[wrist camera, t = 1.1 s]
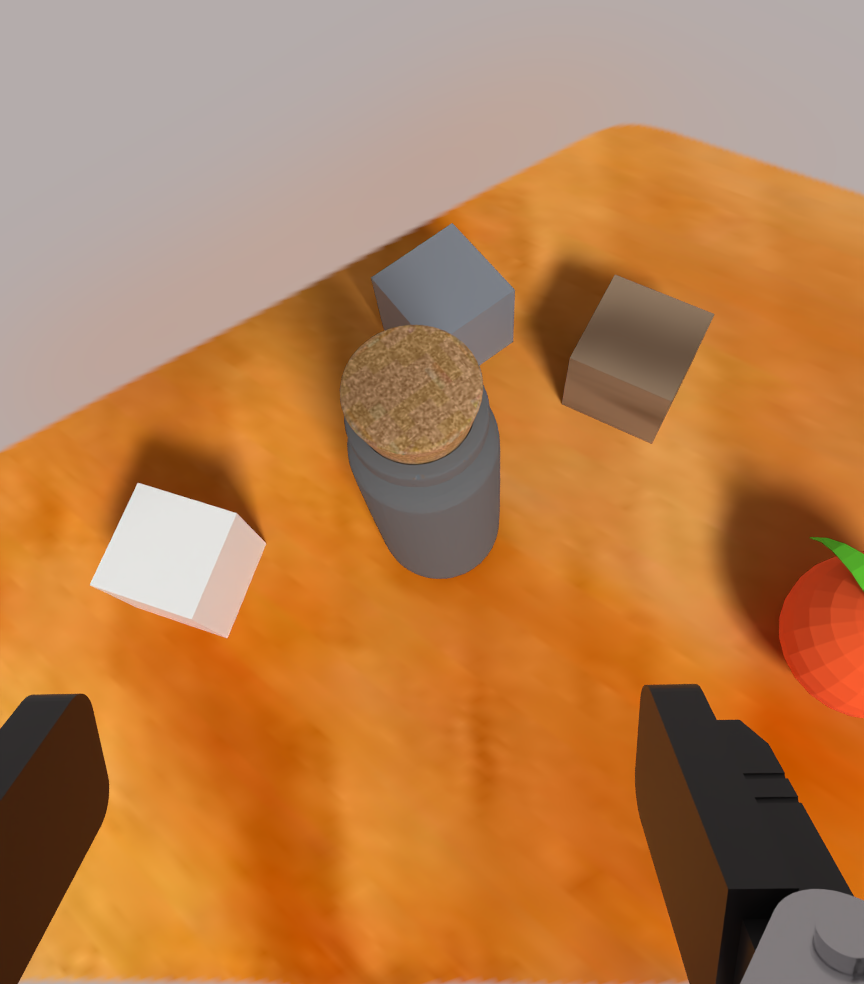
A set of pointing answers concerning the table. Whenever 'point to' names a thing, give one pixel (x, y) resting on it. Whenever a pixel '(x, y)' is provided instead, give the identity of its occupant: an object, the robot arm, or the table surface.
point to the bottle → (424, 448)
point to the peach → (828, 629)
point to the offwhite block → (180, 559)
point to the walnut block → (634, 357)
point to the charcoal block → (449, 293)
